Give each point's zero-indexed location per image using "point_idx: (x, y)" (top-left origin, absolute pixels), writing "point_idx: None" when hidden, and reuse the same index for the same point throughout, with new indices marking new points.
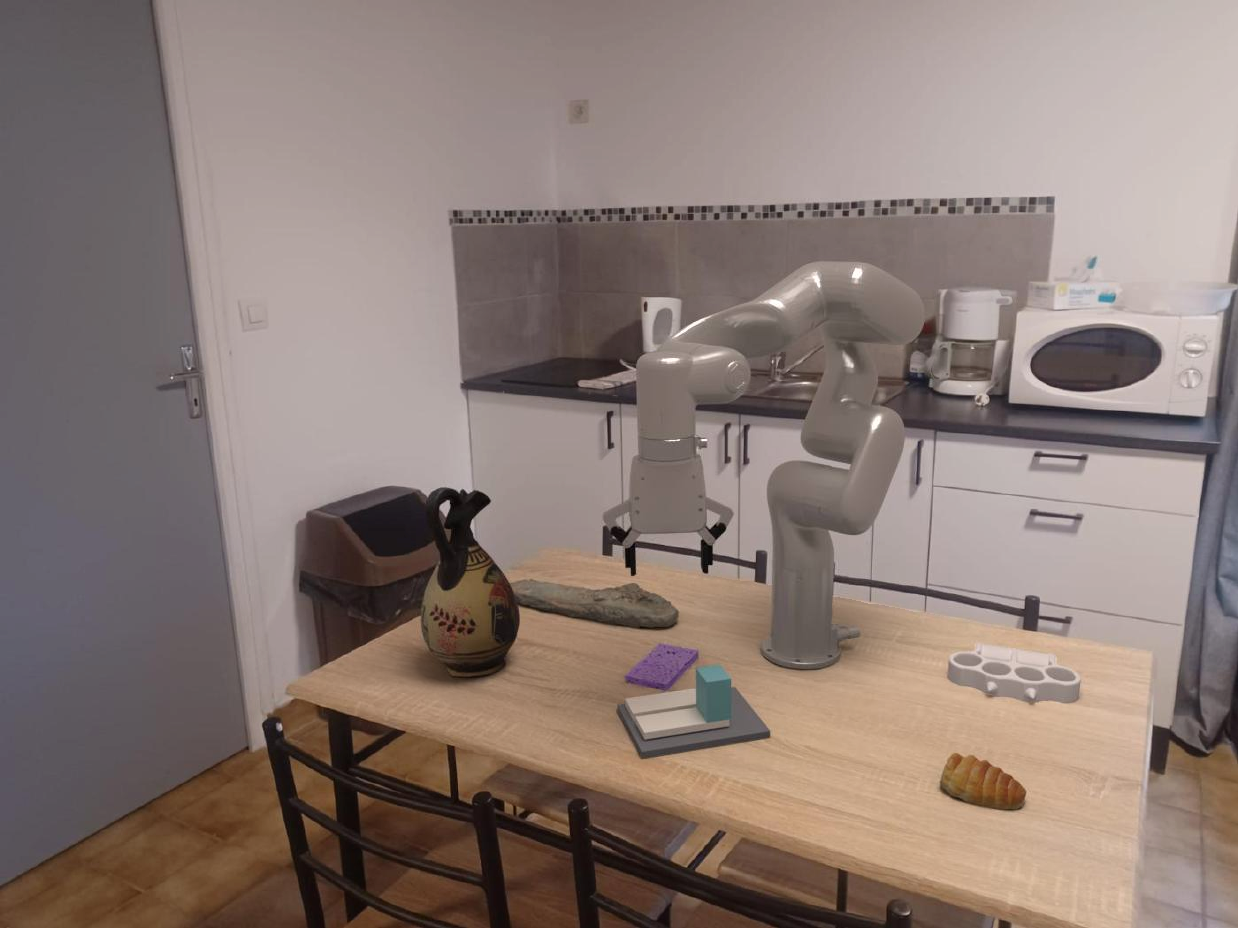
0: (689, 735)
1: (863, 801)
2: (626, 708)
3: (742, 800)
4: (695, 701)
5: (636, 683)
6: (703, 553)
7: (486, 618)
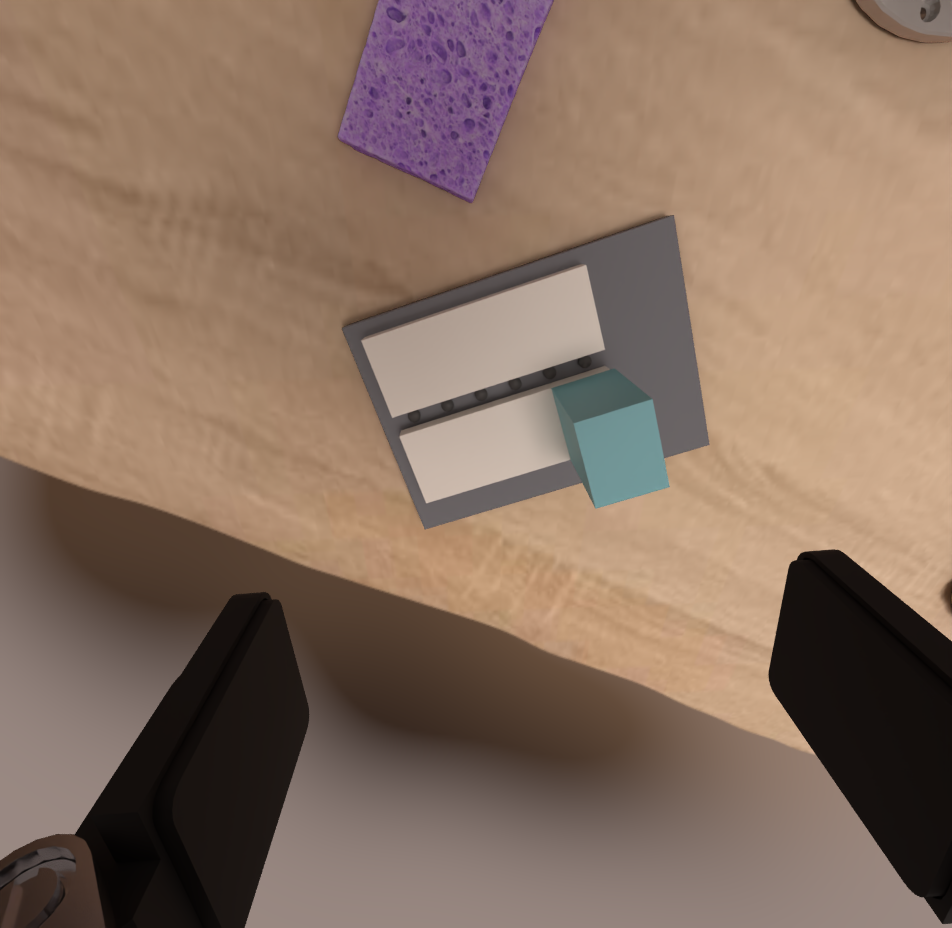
0: None
1: None
2: None
3: (603, 627)
4: (552, 352)
5: (379, 160)
6: (875, 834)
7: None
